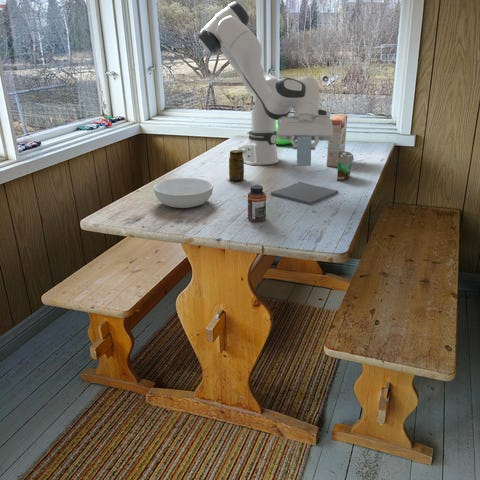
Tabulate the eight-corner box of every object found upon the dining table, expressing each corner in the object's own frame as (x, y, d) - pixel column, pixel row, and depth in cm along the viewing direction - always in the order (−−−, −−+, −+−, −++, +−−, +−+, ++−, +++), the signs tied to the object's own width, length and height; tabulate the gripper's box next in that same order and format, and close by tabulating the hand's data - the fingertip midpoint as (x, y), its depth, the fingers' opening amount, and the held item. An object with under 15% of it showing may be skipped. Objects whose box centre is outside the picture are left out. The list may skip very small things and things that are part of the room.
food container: (352, 182, 203) (354, 158, 199) (336, 182, 204) (338, 157, 200) (352, 174, 214) (354, 151, 210) (337, 173, 215) (339, 150, 211)
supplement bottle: (246, 216, 169) (246, 184, 164) (264, 215, 169) (264, 183, 165) (248, 223, 163) (248, 189, 159) (267, 222, 164) (267, 188, 159)
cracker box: (339, 167, 224) (342, 120, 216) (326, 166, 226) (328, 119, 218) (344, 160, 236) (348, 114, 228) (332, 159, 238) (334, 114, 230)
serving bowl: (190, 218, 169) (189, 198, 166) (143, 207, 179) (141, 189, 176) (224, 200, 185) (224, 182, 182) (179, 192, 195) (178, 174, 192)
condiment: (241, 176, 213) (241, 148, 209) (249, 182, 206) (248, 153, 201) (225, 178, 211) (224, 150, 206) (232, 184, 204) (231, 154, 199)
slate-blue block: (296, 166, 184) (297, 138, 180) (297, 162, 189) (297, 135, 185) (310, 166, 183) (311, 138, 179) (310, 162, 188) (311, 135, 184)
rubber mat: (270, 194, 190) (270, 192, 190) (299, 184, 202) (299, 181, 202) (310, 205, 179) (310, 202, 178) (338, 193, 191) (338, 190, 190)
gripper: (277, 111, 187) (274, 143, 182) (333, 111, 184) (332, 144, 179) (278, 121, 192) (275, 152, 187) (333, 122, 189) (331, 154, 184)
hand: (304, 148), depth 183 cm, fingers closed on slate-blue block, 5 cm apart
